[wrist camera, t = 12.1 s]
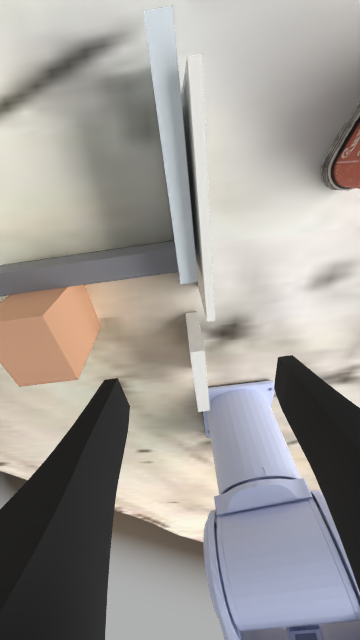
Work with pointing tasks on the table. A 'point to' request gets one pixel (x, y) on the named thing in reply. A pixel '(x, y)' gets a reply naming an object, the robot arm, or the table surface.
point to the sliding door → (175, 162)
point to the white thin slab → (198, 217)
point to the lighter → (344, 157)
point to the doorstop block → (47, 334)
